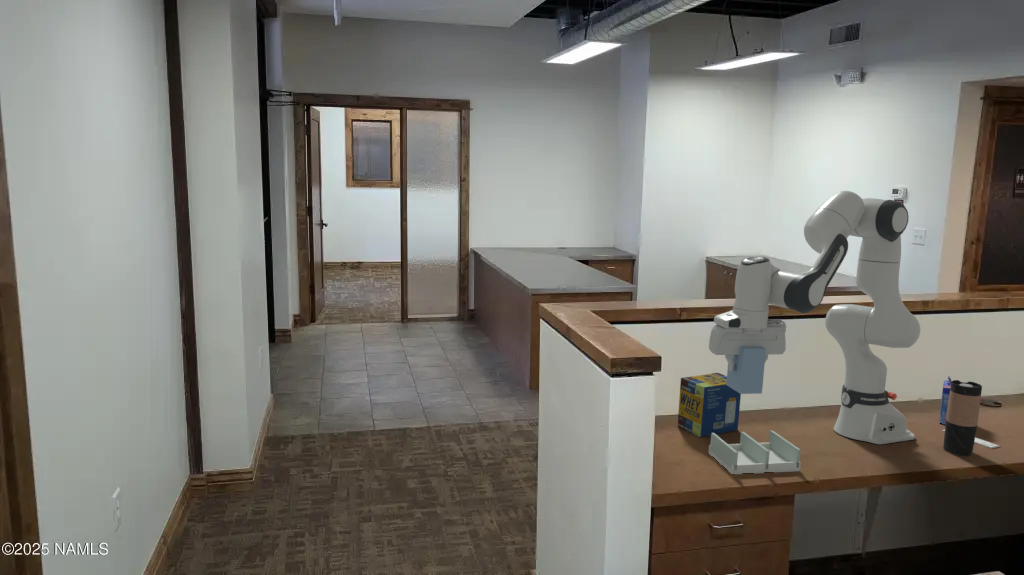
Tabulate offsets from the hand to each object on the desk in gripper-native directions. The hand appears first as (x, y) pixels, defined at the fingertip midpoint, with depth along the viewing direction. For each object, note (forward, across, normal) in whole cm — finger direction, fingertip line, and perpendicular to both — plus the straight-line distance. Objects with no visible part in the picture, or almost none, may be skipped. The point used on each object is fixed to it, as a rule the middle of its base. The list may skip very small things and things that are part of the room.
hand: (745, 370), depth 190 cm
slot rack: (+26, -5, 0) cm, 26 cm away
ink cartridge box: (+25, -86, -24) cm, 92 cm away
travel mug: (+25, -69, -1) cm, 73 cm away
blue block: (+5, 0, 0) cm, 5 cm away
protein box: (+26, -4, -26) cm, 37 cm away
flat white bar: (+25, -81, -10) cm, 85 cm away
